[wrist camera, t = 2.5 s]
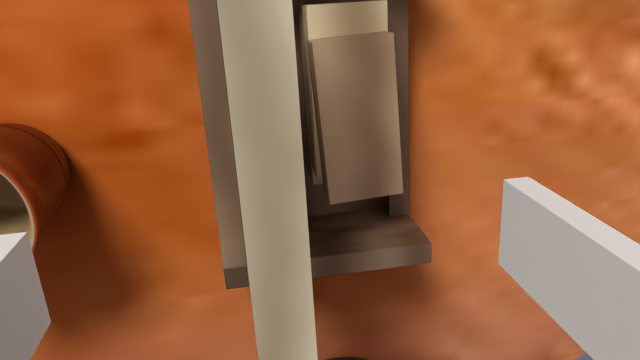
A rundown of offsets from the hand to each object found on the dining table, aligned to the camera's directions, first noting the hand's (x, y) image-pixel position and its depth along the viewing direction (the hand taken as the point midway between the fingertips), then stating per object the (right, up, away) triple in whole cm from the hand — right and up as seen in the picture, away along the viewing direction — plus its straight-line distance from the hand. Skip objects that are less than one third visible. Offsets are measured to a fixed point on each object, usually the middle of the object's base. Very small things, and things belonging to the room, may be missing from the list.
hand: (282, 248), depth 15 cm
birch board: (-4, +8, +23) cm, 25 cm away
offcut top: (+3, +6, +19) cm, 21 cm away
